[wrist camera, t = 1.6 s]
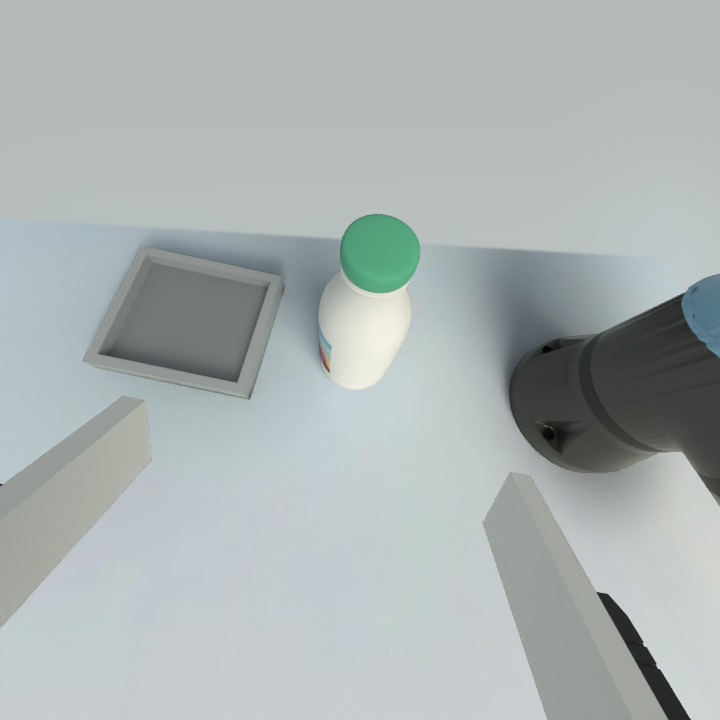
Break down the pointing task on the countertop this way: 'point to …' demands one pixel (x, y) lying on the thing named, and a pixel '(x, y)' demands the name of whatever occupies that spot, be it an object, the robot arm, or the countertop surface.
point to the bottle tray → (189, 323)
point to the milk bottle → (367, 301)
